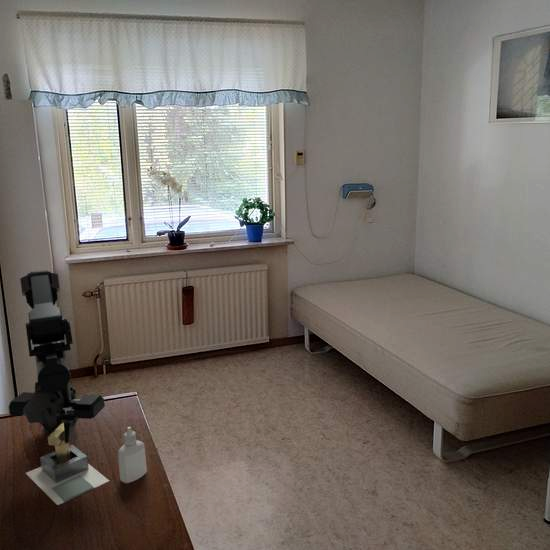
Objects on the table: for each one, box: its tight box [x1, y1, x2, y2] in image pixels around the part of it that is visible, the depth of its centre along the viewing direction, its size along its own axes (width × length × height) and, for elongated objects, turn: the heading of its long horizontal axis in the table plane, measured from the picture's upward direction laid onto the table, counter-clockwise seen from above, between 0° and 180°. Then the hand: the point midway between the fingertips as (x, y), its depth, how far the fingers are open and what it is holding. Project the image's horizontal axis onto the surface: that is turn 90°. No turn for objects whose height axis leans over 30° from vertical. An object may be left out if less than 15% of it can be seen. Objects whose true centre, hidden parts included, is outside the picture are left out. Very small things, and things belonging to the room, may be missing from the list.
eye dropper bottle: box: [117, 426, 148, 484], centre depth 116 cm, size 4×6×12 cm
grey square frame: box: [39, 444, 89, 483], centre depth 120 cm, size 7×7×3 cm
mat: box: [52, 476, 95, 502], centre depth 113 cm, size 6×6×1 cm
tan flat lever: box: [47, 423, 71, 465], centre depth 119 cm, size 6×3×8 cm, turn 172°
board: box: [25, 463, 110, 506], centre depth 118 cm, size 16×11×1 cm
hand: (61, 441), depth 119 cm, fingers closed on tan flat lever, 3 cm apart
